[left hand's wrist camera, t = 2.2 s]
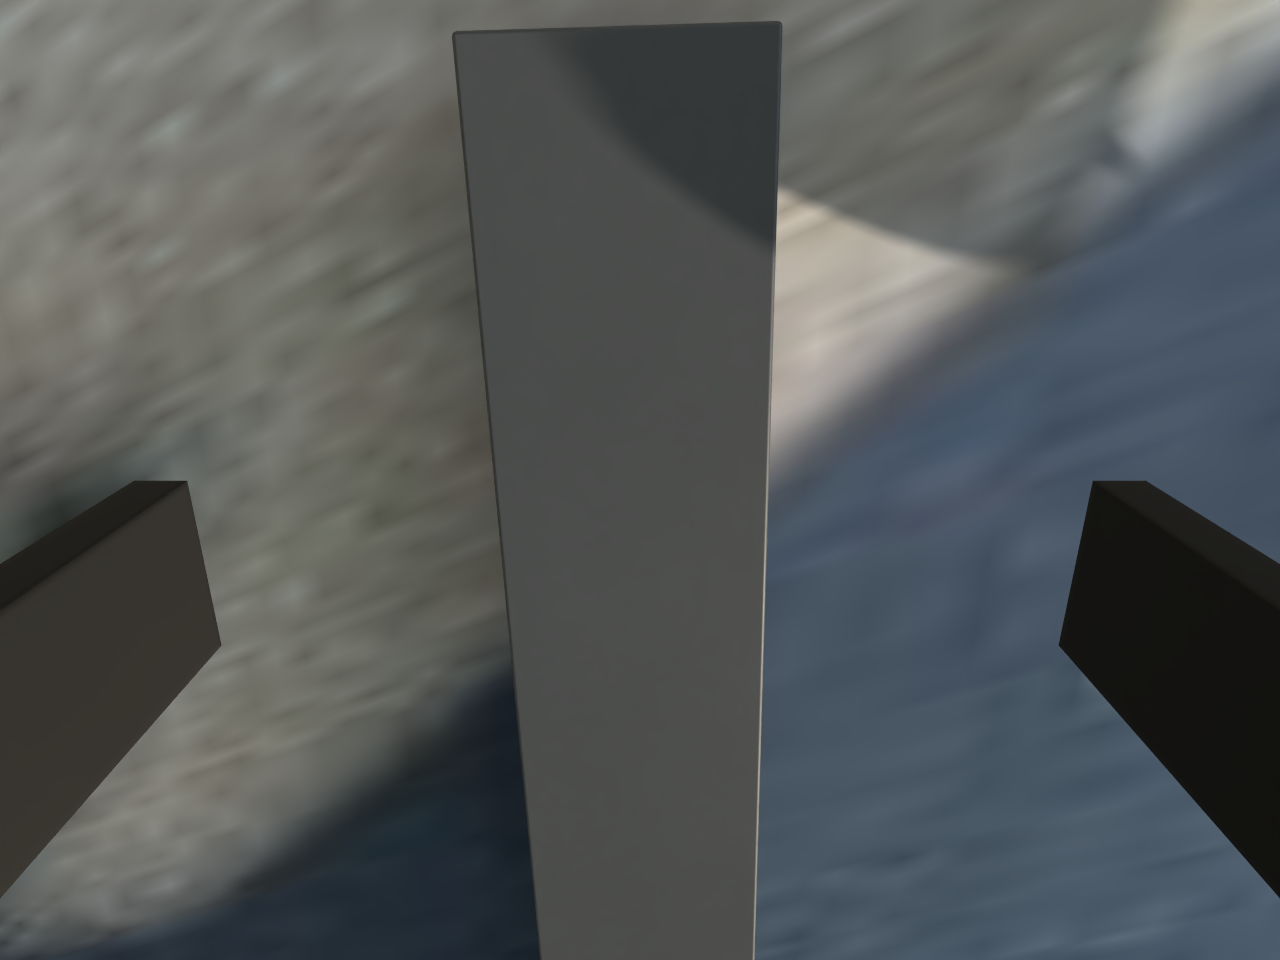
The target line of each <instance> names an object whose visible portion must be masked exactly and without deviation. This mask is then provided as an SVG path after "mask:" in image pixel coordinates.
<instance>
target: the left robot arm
mask: <svg viewBox="0 0 1280 960" xmlns="http://www.w3.org/2000/svg"><path fill="white" fill-rule="evenodd" d="M220 646H221V642H220V637H219V632H218V627H217V622H216V618H215V613H214V608H213V603H212V598H211V594H210V589H209V584H208V579H207V574H206V570H205V565H204V560H203V555H202V550H201V546H200V541H199V536H198V531H197V526H196V522H195V517H194V512H193V507H192V502H191V498H190V493H189V488H188V483H187V481H133V482H132V483H130V484H128V485H127V486H125V487H124V488H122V489H120V490H119V491H117V492H115V493H114V494H112V495H111V496H109V497H107V498H106V499H104V500H103V501H101V502H99V503H98V504H96V505H95V506H93V507H91V508H90V509H88V510H87V511H85V512H83V513H82V514H80V515H78V516H77V517H75V518H74V519H72V520H70V521H69V522H67V523H66V524H64V525H62V526H61V527H59V528H58V529H56V530H54V531H53V532H51V533H50V534H48V535H46V536H45V537H43V538H41V539H40V540H38V541H37V542H35V543H33V544H32V545H30V546H29V547H27V548H25V549H24V550H22V551H21V552H19V553H17V554H16V555H14V556H12V557H11V558H9V559H8V560H6V561H4V562H3V563H1V564H0V898H1V897H2V895H3V894H4V893H5V892H6V891H7V890H8V889H9V887H10V886H11V885H12V884H13V883H14V882H15V881H16V879H17V878H18V877H19V876H20V875H21V874H22V873H23V871H24V870H25V869H26V868H27V867H28V866H29V865H30V863H31V862H32V861H33V860H34V859H35V858H36V857H37V855H38V854H39V853H40V852H41V851H42V850H43V849H44V847H45V846H46V845H47V844H48V843H49V842H50V841H51V839H52V838H53V837H54V836H55V835H56V834H57V833H58V831H59V830H60V829H61V828H62V827H63V826H64V825H65V823H66V822H67V821H68V820H69V819H70V818H71V817H72V815H73V814H74V813H75V812H76V811H77V810H78V809H79V807H80V806H81V805H82V804H83V803H84V802H85V801H86V799H87V798H88V797H89V796H90V795H91V794H92V793H93V791H94V790H95V789H96V788H97V787H98V786H99V785H100V783H101V782H102V781H103V780H104V779H105V778H106V776H107V775H108V774H109V773H110V772H111V771H112V770H113V768H114V767H115V766H116V765H117V764H118V763H119V762H120V760H121V759H122V758H123V757H124V756H125V755H126V754H127V752H128V751H129V750H130V749H131V748H132V747H133V746H134V744H135V743H136V742H137V741H138V740H139V739H140V738H141V736H142V735H143V734H144V733H145V732H146V731H147V730H148V728H149V727H150V726H151V725H152V724H153V723H154V722H155V720H156V719H157V718H158V717H159V716H160V715H161V714H162V712H163V711H164V710H165V709H166V708H167V707H168V706H169V704H170V703H171V702H172V701H173V700H174V699H175V698H176V696H177V695H178V694H179V693H180V692H181V691H182V690H183V688H184V687H185V686H186V685H187V684H188V683H189V682H190V680H191V679H192V678H193V677H194V676H195V675H196V674H197V672H198V671H199V670H200V669H201V668H202V667H203V666H204V664H205V663H206V662H207V661H208V660H209V659H210V658H211V656H212V655H213V654H214V653H215V652H216V651H217V650H218V648H219V647H220ZM1059 646H1060V647H1061V648H1062V650H1063V651H1064V652H1065V653H1066V654H1067V655H1068V656H1069V658H1070V659H1071V660H1072V661H1073V662H1074V663H1075V664H1076V666H1077V667H1078V668H1079V669H1080V670H1081V671H1082V672H1083V674H1084V675H1085V676H1086V677H1087V678H1088V679H1089V680H1090V682H1091V683H1092V684H1093V685H1094V686H1095V687H1096V688H1097V690H1098V691H1099V692H1100V693H1101V694H1102V695H1103V696H1104V698H1105V699H1106V700H1107V701H1108V702H1109V703H1110V704H1111V706H1112V707H1113V708H1114V709H1115V710H1116V711H1117V712H1118V714H1119V715H1120V716H1121V717H1122V718H1123V719H1124V720H1125V722H1126V723H1127V724H1128V725H1129V726H1130V727H1131V728H1132V730H1133V731H1134V732H1135V733H1136V734H1137V735H1138V736H1139V738H1140V739H1141V740H1142V741H1143V742H1144V743H1145V744H1146V746H1147V747H1148V748H1149V749H1150V750H1151V751H1152V752H1153V754H1154V755H1155V756H1156V757H1157V758H1158V759H1159V760H1160V762H1161V763H1162V764H1163V765H1164V766H1165V767H1166V768H1167V770H1168V771H1169V772H1170V773H1171V774H1172V775H1173V776H1174V778H1175V779H1176V780H1177V781H1178V782H1179V783H1180V785H1181V786H1182V787H1183V788H1184V789H1185V790H1186V791H1187V793H1188V794H1189V795H1190V796H1191V797H1192V798H1193V799H1194V801H1195V802H1196V803H1197V804H1198V805H1199V806H1200V807H1201V809H1202V810H1203V811H1204V812H1205V813H1206V814H1207V815H1208V817H1209V818H1210V819H1211V820H1212V821H1213V822H1214V823H1215V825H1216V826H1217V827H1218V828H1219V829H1220V830H1221V831H1222V833H1223V834H1224V835H1225V836H1226V837H1227V838H1228V839H1229V841H1230V842H1231V843H1232V844H1233V845H1234V846H1235V847H1236V849H1237V850H1238V851H1239V852H1240V853H1241V854H1242V855H1243V857H1244V858H1245V859H1246V860H1247V861H1248V862H1249V863H1250V865H1251V866H1252V867H1253V868H1254V869H1255V870H1256V871H1257V873H1258V874H1259V875H1260V876H1261V877H1262V878H1263V879H1264V881H1265V882H1266V883H1267V884H1268V885H1269V886H1270V887H1271V889H1272V890H1273V891H1274V892H1275V893H1276V894H1277V895H1278V897H1279V898H1280V564H1279V563H1277V562H1276V561H1274V560H1272V559H1271V558H1269V557H1268V556H1266V555H1264V554H1263V553H1261V552H1259V551H1258V550H1256V549H1255V548H1253V547H1251V546H1250V545H1248V544H1247V543H1245V542H1243V541H1242V540H1240V539H1239V538H1237V537H1235V536H1234V535H1232V534H1230V533H1229V532H1227V531H1226V530H1224V529H1222V528H1221V527H1219V526H1218V525H1216V524H1214V523H1213V522H1211V521H1210V520H1208V519H1206V518H1205V517H1203V516H1202V515H1200V514H1198V513H1197V512H1195V511H1193V510H1192V509H1190V508H1189V507H1187V506H1185V505H1184V504H1182V503H1181V502H1179V501H1177V500H1176V499H1174V498H1173V497H1171V496H1169V495H1168V494H1166V493H1165V492H1163V491H1161V490H1160V489H1158V488H1156V487H1155V486H1153V485H1152V484H1150V483H1148V482H1147V481H1093V483H1092V488H1091V493H1090V498H1089V502H1088V507H1087V512H1086V517H1085V522H1084V526H1083V531H1082V536H1081V541H1080V546H1079V550H1078V555H1077V560H1076V565H1075V570H1074V574H1073V579H1072V584H1071V589H1070V594H1069V598H1068V603H1067V608H1066V613H1065V618H1064V622H1063V627H1062V632H1061V637H1060V642H1059Z"/></svg>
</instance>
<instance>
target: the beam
mask: <svg viewBox="0 0 1280 960" xmlns="http://www.w3.org/2000/svg"><path fill="white" fill-rule="evenodd" d="M452 41H453V52H454V62H455V72H456V83H457V93H458V104H459V114H460V125H461V135H462V146H463V156H464V167H465V177H466V188H467V198H468V209H469V219H470V230H471V240H472V251H473V261H474V272H475V282H476V293H477V303H478V314H479V324H480V335H481V345H482V356H483V366H484V377H485V387H486V398H487V408H488V419H489V429H490V440H491V450H492V461H493V471H494V482H495V492H496V503H497V513H498V524H499V534H500V545H501V555H502V565H503V576H504V586H505V597H506V607H507V618H508V628H509V639H510V649H511V660H512V670H513V681H514V691H515V702H516V712H517V723H518V733H519V744H520V754H521V765H522V775H523V786H524V796H525V807H526V817H527V828H528V838H529V849H530V859H531V870H532V880H533V891H534V901H535V912H536V922H537V933H538V943H539V954H540V960H754V957H755V924H756V890H757V857H758V824H759V790H760V757H761V723H762V690H763V656H764V623H765V590H766V556H767V523H768V489H769V456H770V423H771V389H772V356H773V322H774V289H775V255H776V222H777V189H778V155H779V122H780V88H781V55H782V24H781V22H779V21H764V22H733V23H701V24H669V25H638V26H606V27H574V28H543V29H511V30H479V31H456V32H454V33H453V35H452Z"/></svg>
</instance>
